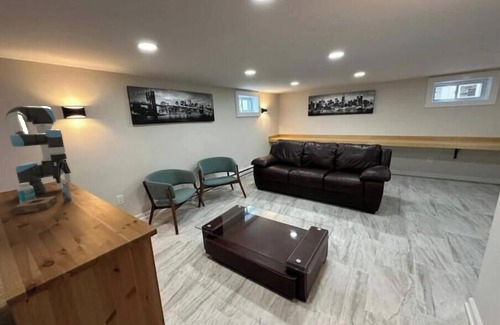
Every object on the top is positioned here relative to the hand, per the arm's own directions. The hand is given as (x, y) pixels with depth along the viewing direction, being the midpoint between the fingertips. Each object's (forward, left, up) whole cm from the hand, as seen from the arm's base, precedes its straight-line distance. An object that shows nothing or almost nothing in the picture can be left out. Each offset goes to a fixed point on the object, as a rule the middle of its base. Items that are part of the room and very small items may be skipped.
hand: (64, 185), depth 136 cm
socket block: (+6, -13, -11) cm, 18 cm away
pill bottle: (-8, -23, -11) cm, 27 cm away
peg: (0, 0, -11) cm, 11 cm away
